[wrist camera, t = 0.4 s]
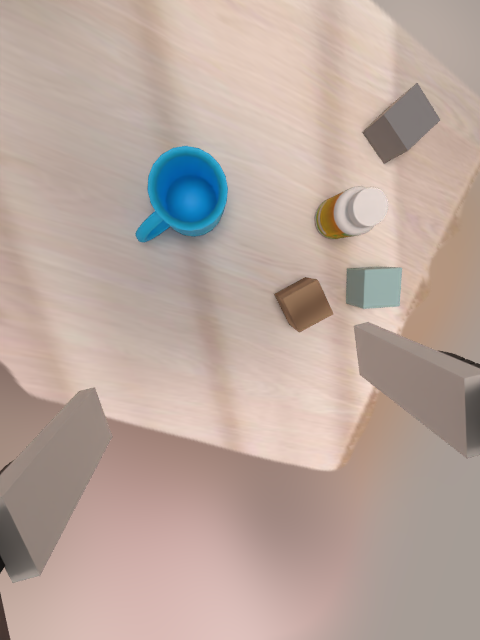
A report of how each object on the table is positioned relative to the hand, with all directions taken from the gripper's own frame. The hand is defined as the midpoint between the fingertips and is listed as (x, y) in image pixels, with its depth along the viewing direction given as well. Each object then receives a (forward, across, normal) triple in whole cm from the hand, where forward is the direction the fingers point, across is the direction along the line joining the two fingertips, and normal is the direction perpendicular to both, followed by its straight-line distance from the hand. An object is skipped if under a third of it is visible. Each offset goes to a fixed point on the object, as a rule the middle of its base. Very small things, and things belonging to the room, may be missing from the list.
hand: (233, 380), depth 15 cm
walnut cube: (+27, +11, -3) cm, 30 cm away
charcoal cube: (+28, +27, +16) cm, 42 cm away
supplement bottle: (+28, +18, +7) cm, 34 cm away
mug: (+28, -2, +12) cm, 30 cm away
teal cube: (+27, +21, -3) cm, 35 cm away
